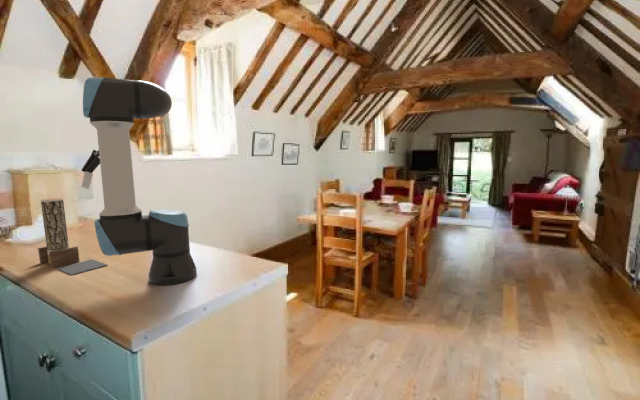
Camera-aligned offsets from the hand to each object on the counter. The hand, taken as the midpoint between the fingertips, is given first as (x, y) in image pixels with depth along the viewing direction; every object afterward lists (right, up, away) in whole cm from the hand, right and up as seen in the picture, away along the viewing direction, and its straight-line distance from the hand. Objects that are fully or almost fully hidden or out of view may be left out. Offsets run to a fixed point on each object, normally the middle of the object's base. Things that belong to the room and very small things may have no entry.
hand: (97, 185), depth 137 cm
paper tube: (-14, -30, 0) cm, 33 cm away
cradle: (-14, -30, 0) cm, 33 cm away
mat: (-2, -31, -6) cm, 31 cm away
